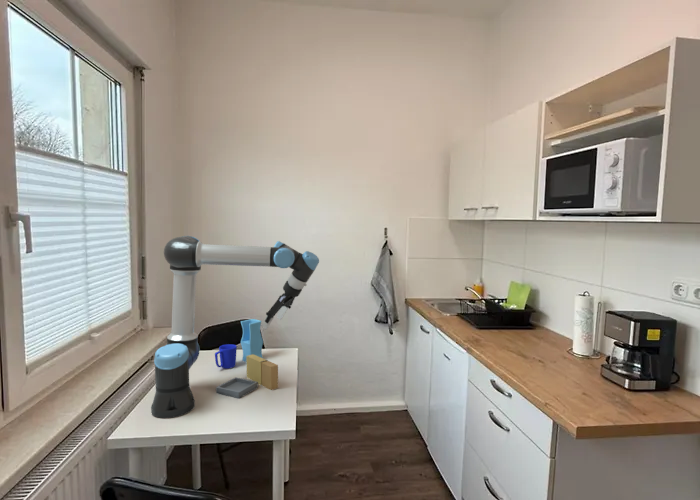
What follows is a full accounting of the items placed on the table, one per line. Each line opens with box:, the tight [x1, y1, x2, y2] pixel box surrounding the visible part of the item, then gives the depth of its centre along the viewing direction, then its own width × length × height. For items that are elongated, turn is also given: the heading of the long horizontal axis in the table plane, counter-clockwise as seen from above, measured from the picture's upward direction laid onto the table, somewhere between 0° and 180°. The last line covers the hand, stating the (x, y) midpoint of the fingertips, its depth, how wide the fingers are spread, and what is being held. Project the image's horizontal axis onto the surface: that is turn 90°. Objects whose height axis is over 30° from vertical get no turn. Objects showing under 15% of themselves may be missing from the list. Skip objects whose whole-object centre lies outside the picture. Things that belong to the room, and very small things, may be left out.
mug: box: [214, 343, 238, 369], centre depth 200 cm, size 8×12×10 cm
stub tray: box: [215, 377, 259, 399], centre depth 174 cm, size 12×12×2 cm
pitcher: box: [240, 318, 264, 363], centre depth 211 cm, size 8×8×20 cm
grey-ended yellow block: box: [245, 354, 269, 386], centre depth 184 cm, size 12×4×10 cm, turn 44°
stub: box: [261, 360, 279, 391], centre depth 177 cm, size 7×4×10 cm, turn 44°
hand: (271, 322), depth 182 cm, fingers open, 13 cm apart
